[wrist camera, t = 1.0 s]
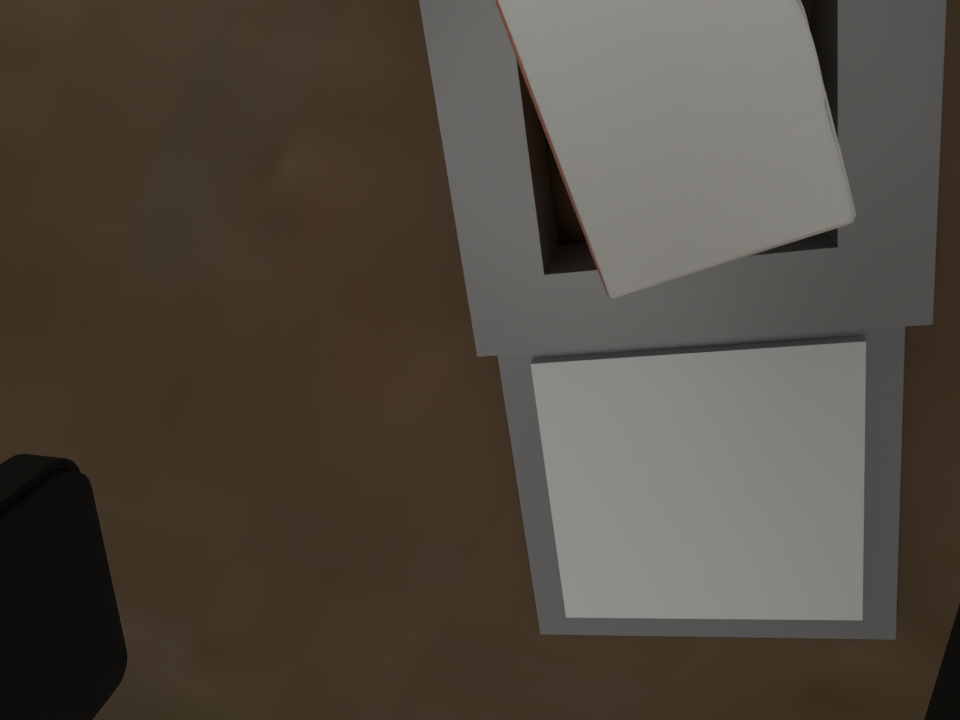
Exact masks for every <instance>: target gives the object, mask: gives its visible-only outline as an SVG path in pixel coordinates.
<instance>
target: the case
mask: <svg viewBox="0 0 960 720" xmlns="http://www.w3.org/2000/svg"><path fill="white" fill-rule="evenodd" d="M419 3H420V9H421V15H422V22H423V28H424V34H425V40H426V46H427V52H428V58H429V64H430V70H431V77H432V83H433V89H434V95H435V101H436V107H437V113H438V119H439V125H440V132H441V138H442V144H443V150H444V156H445V162H446V168H447V174H448V180H449V187H450V193H451V199H452V205H453V211H454V217H455V223H456V229H457V235H458V242H459V248H460V254H461V260H462V266H463V272H464V278H465V284H466V290H467V297H468V303H469V309H470V315H471V321H472V327H473V333H474V339H475V345H476V352H477V357H480V356H495V355H498V362H499V368H500V375H501V381H502V388H503V394H504V401H505V407H506V414H507V420H508V427H509V433H510V440H511V446H512V453H513V459H514V466H515V472H516V478H517V485H518V491H519V498H520V504H521V511H522V517H523V524H524V530H525V537H526V543H527V550H528V556H529V563H530V569H531V576H532V582H533V589H534V595H535V602H536V608H537V615H538V621H539V627H540V634H558V635H625V636H692V637H759V638H826V639H893V640H896V614H897V581H898V548H899V515H900V482H901V449H902V416H903V384H904V351H905V326H919V325H933V305H934V282H935V258H936V235H937V211H938V188H939V164H940V141H941V118H942V94H943V71H944V47H945V24H946V0H813V42H814V45H815V49H816V53H817V57H818V61H819V65H820V70H821V75H822V79H823V83H824V87H825V91H826V95H827V99H828V103H829V107H830V111H831V114H832V118H833V123H834V127H835V131H836V134H837V138H838V142H839V145H840V149H841V153H842V157H843V161H844V165H845V169H846V173H847V177H848V181H849V185H850V189H851V193H852V197H853V201H854V205H855V210H856V217H855V220H854V222H853V223H851V224H849V225H846V226H842V227H839V228H836V229H833V230H830V231H826V232H823V233H820V234H817V235H814V236H810V237H807V238H804V239H801V240H798V241H795V242H791V243H788V244H785V245H782V246H779V247H775V248H772V249H769V250H766V251H763V252H760V253H757V254H753V255H750V256H747V257H744V258H741V259H738V260H735V261H731V262H728V263H725V264H722V265H719V266H716V267H713V268H709V269H706V270H703V271H700V272H697V273H694V274H690V275H687V276H684V277H681V278H678V279H675V280H671V281H668V282H665V283H662V284H659V285H656V286H652V287H649V288H646V289H643V290H640V291H637V292H634V293H630V294H627V295H624V296H621V297H618V298H614V299H610V298H608V296H607V293H606V291H605V288H604V286H603V283H602V280H601V278H600V275H599V273H598V270H597V268H596V265H595V263H594V260H593V258H592V255H591V252H590V250H589V247H588V244H587V243H577V244H567V245H558V239H557V230H556V222H555V214H554V206H553V197H552V189H551V181H550V172H549V164H548V156H547V148H546V139H545V132H544V130H543V127H542V124H541V122H540V119H539V117H538V114H537V111H536V109H535V106H534V104H533V101H532V98H531V96H530V93H529V90H528V88H527V85H526V83H525V80H524V77H523V75H522V72H521V69H520V67H519V64H518V61H517V59H516V56H515V53H514V51H513V48H512V45H511V43H510V40H509V37H508V35H507V32H506V29H505V27H504V24H503V21H502V19H501V16H500V13H499V10H498V8H497V5H496V0H419Z"/></svg>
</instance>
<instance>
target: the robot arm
mask: <svg viewBox="0 0 960 720" xmlns="http://www.w3.org/2000/svg"><path fill="white" fill-rule="evenodd" d="M126 665H127V650H126V646H125V641H124V636H123V632H122V627H121V622H120V617H119V613H118V608H117V603H116V599H115V594H114V589H113V585H112V580H111V575H110V571H109V566H108V561H107V557H106V552H105V547H104V543H103V538H102V533H101V529H100V524H99V519H98V514H97V510H96V505H95V500H94V496H93V491H92V486H91V484H90V481H89V479H88V478H87V477H86V475H84V474H82V473H80V470H79V468H78V466H77V465H76V464H75V463H74V462H73V461H71V460H69V459H66V458H57V457H48V456H39V455H30V454H18V455H15V456H13V457H11V458H9V459H8V460H6V461H5V462H3V463H2V464H1V465H0V720H92V719H93V718H94V717H95V715H96V714H97V713H98V712H99V710H100V709H101V708H102V706H103V705H104V704H105V703H106V701H107V700H108V699H109V697H110V696H111V695H112V694H113V692H114V691H115V690H116V688H117V687H118V685H119V684H120V682H121V680H122V678H123V675H124V673H125V669H126ZM924 720H960V605H959V608H958V611H957V615H956V618H955V621H954V625H953V628H952V631H951V634H950V638H949V641H948V644H947V647H946V651H945V654H944V657H943V661H942V664H941V667H940V670H939V674H938V677H937V680H936V683H935V687H934V690H933V693H932V697H931V700H930V703H929V706H928V710H927V713H926V716H925V719H924Z"/></svg>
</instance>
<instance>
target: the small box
mask: <svg viewBox="0 0 960 720" xmlns="http://www.w3.org/2000/svg"><path fill="white" fill-rule="evenodd" d="M496 5H497V8H498V10H499V13H500V16H501V19H502V21H503V24H504V27H505V29H506V32H507V35H508V37H509V40H510V43H511V45H512V48H513V51H514V53H515V56H516V59H517V61H518V64H519V67H520V69H521V72H522V75H523V77H524V80H525V83H526V85H527V88H528V90H529V93H530V96H531V98H532V101H533V104H534V106H535V109H536V111H537V114H538V117H539V119H540V122H541V124H542V127H543V130H544V132H545V135H546V137H547V140H548V143H549V145H550V148H551V150H552V153H553V155H554V158H555V161H556V163H557V166H558V169H559V172H560V174H561V177H562V180H563V182H564V185H565V187H566V190H567V192H568V195H569V197H570V200H571V203H572V205H573V208H574V210H575V213H576V215H577V218H578V221H579V223H580V226H581V228H582V231H583V234H584V236H585V239H586V241H587V244H588V247H589V250H590V252H591V255H592V258H593V260H594V263H595V265H596V268H597V270H598V273H599V275H600V278H601V280H602V283H603V286H604V288H605V291H606V293H607V296H608V298H610V299H614V298H618V297H621V296H624V295H627V294H630V293H634V292H637V291H640V290H643V289H646V288H649V287H652V286H656V285H659V284H662V283H665V282H668V281H671V280H675V279H678V278H681V277H684V276H687V275H690V274H694V273H697V272H700V271H703V270H706V269H709V268H713V267H716V266H719V265H722V264H725V263H728V262H731V261H735V260H738V259H741V258H744V257H747V256H750V255H753V254H757V253H760V252H763V251H766V250H769V249H772V248H775V247H779V246H782V245H785V244H788V243H791V242H795V241H798V240H801V239H804V238H807V237H810V236H814V235H817V234H820V233H823V232H826V231H830V230H833V229H836V228H839V227H842V226H846V225H849V224H851V223H853V222H854V220H855V217H856V210H855V205H854V201H853V197H852V193H851V189H850V185H849V181H848V177H847V173H846V169H845V165H844V161H843V157H842V153H841V149H840V145H839V142H838V138H837V134H836V131H835V127H834V123H833V118H832V114H831V111H830V107H829V103H828V99H827V95H826V91H825V87H824V83H823V79H822V75H821V70H820V65H819V61H818V57H817V53H816V49H815V45H814V42H813V38H812V35H811V32H810V29H809V24H808V20H807V16H806V13H805V10H804V7H803V5H802V2H801V0H496Z"/></svg>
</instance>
